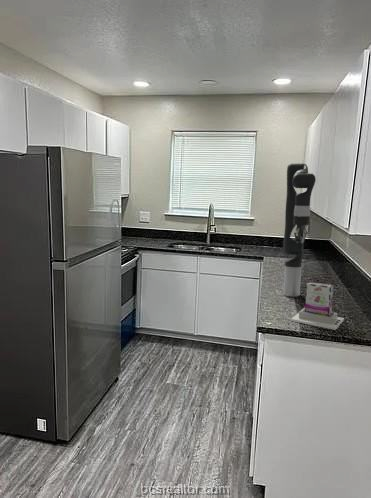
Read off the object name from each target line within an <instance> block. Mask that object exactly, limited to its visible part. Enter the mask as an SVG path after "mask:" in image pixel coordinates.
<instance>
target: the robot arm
mask: <svg viewBox="0 0 371 498" xmlns="http://www.w3.org/2000/svg"><path fill="white" fill-rule="evenodd" d="M286 168H287V169H286V199H285V216H284V217H285V219H284V220H285V221H284V235H283V244H282V251H283V253H284V254H285V255H294V256H293V257H292V258H290V259H289V258H288V259H286V260H285V261H284V276H283V277H284V278H283V292H282V293H283V295H284V296H287V297H290V298H291V297H292V298H293V297H294V298H295V297H297V298H298V297H300V295H301V294H300V292H301V280H302V278H301V277H302V262H303V252H304V243H305V240H306V237H307V233H308V230H307V229H306V226H310V220H311V219H310V218H311V197H312V192H313V189H314V187H315V184H316V179H317V178H316V176H315V175H314V174H313V173H309V167H308V165H307V164H306V163H288V165H287V167H286ZM295 188H296V189H306V190H305V191H304V192H301V193H297V191H296V189H295ZM295 227H296V228H295ZM294 228H295V232H294V234H293V235H294V238H292V237H291V236H292V232H293V230H294Z"/></svg>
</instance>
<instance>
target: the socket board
mask: <svg viewBox="0 0 371 498" xmlns="http://www.w3.org/2000/svg"><path fill="white" fill-rule="evenodd" d="M344 321H345V318H344V317H341V316H338V312H335V311H332V314H331V317H328V316H323V315H317V314H312V313H307V312H305V306H304V307H303V308H301V310H299V312H298V313H297V314H295V315H294V316H293V317H291V318H290V322H295V323H298V324H299V323H300V324H304V325H309V326H314V327H317V328H318V327H319V328H322V329H328V330H334V331H337V330H336V329H339V327H340V326H341V325H342V323H343V322H344ZM340 324H341V325H340Z"/></svg>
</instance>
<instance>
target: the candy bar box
mask: <svg viewBox="0 0 371 498" xmlns="http://www.w3.org/2000/svg"><path fill="white" fill-rule="evenodd" d="M333 292H334V284H328V283H320V282H313V281H311V282H310V281H309V282H307V283H306V286H305V304H304V307H305V312H307V313H312V314H317V315H323V316H328V317H331V314H332V312H333V298H334V297H333V294H334V293H333Z"/></svg>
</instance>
